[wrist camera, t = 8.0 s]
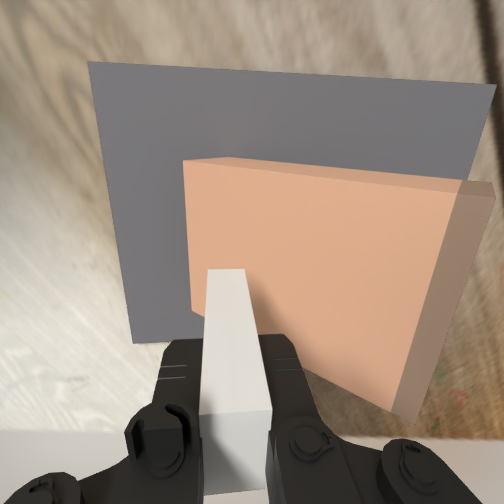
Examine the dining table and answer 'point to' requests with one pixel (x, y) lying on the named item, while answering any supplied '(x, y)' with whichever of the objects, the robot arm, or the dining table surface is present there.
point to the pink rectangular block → (341, 263)
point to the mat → (253, 153)
